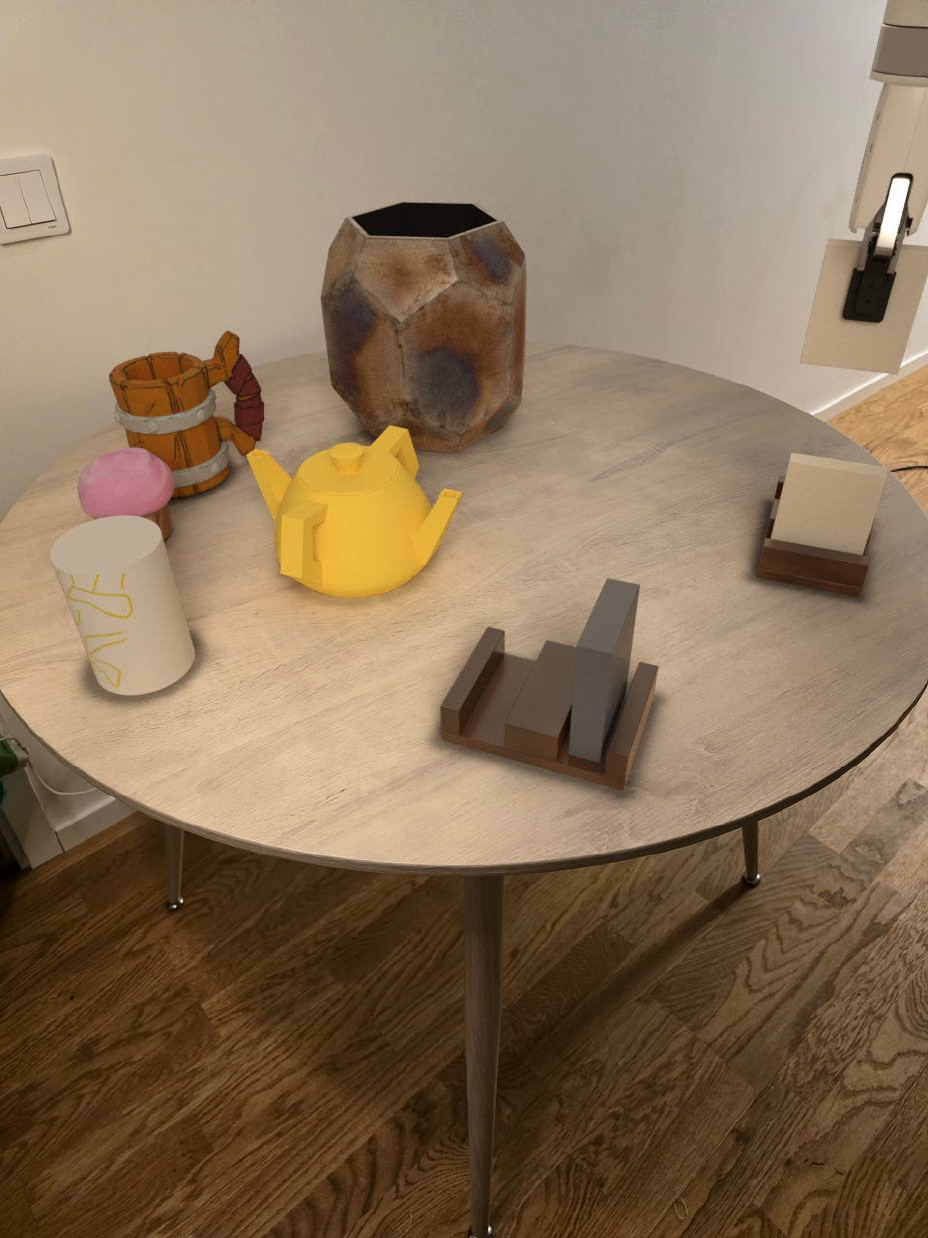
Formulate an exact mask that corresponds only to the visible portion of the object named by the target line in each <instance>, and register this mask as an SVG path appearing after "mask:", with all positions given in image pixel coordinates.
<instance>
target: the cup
mask: <svg viewBox="0 0 928 1238" xmlns="http://www.w3.org/2000/svg"><path fill="white" fill-rule="evenodd" d="M49 560H50V563H51V565H52V568H53V571H54V573H55V576H56V578H57V581H58V583H59V586H60V588H61V591H62V593H63V596H64V599H65V601H66V604H67V606H68V609H69V612H70V614H71V617H72V619H73V622H74V625H75V627H76V629H77V632H78V635H79V638H80V640H81V642H82V646H83V648H84V650H85V653H86V655H87V658H88V661H89V663H90V665H91V668H92V671H93V673H94V676H95V679H96V681H97V683H98V684H99V685H100V687H101V688H103V689H104V690H106V691H107V692H110V693H112V694H115V695H120V696H121V695H122V696H140V695H147V694H151V693H154V692H155V693H156V692H158V691H161V690H163V689H165V688H167V687H170V686H171V685H173V684H174V683H176V682H178V681H179V680H180V679H181V678H183V677H184V676H185V675H186V674H187V673H188V672H189V671H190V669H191V667H192V666H193V664H194V662H195V658H196V650H195V646H194V643H193V638H192V636H191V633H190V629H189V626H188V622H187V618H186V615H185V611H184V607H183V604H182V600H181V597H180V593H179V590H178V587H177V583H176V580H175V576H174V573H173V569H172V565H171V562H170V558H169V555H168V551H167V548H166V544H165V540H163V537H162V533H161V530H160V528H159V527H158V525H157V524H155V523H154V522H153V521H151V520H149V519H146V518H143V517H138V516H128V515H121V516H110V517H104V518H99V519H96V520H95V519H92V520H88V521H87V522H84V523H81V524H79V525H76V526H75V527H72V528H70V529H69V530H67V531H66V532H64V533H63V534H62V535H61V536H60V537H58V538H57V539H56V540H55V542H54V543H53V544H52V546H51V547H50V550H49Z"/></svg>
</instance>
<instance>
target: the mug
mask: <svg viewBox="0 0 928 1238" xmlns="http://www.w3.org/2000/svg"><path fill="white" fill-rule="evenodd" d="M240 339H241V338H240V337H239V335H238V334H236V333H235V332H232V331H230V330H225V331H224V333H223V334H221V336H220V338H218V340H217V343H216V344H215V347H214V351H213V357H212V358H208V359H205V360H202V359H201V358H199V357H198V356H196V355H192V354H189V353H186V352H180V353H178V352H177V351H162V352H161V351H160V352H153V353H149V354H148V355H142V356H138V357H134V358H130V359H128V360H125V361H123V362H121V363H119V364H117V365H116V366H114V367H113V369H112V371H111V372H109V373H108V379H109V380H108V381H109V383H110V386H111V389H112V391H113V395H114V397H115V399H116V401H115V405H114V410H115V412H114V413H113V417H114V420H115V422H116V423H118V424H120V425H121V426H122V427H123V428H124V430H125V435H126V439H127V443H128V448H131V447H133V448H142V449H145V450H147V451H148V452H150V453H151V454H153V455H154V456H156V457H158V458H159V459H160V460H162V461H163V462H165V463H166V464H167V465H168V466H169V468H170V470H171V472H172V474H173V476H174V480H175V488H174V491H173V494H172V496H171V498H170V499H178V498H189V497H194V496H196V495H197V494H203V493H204V492H207V491H209V490H210V489H215V488H217V487H218V486H219V485H221V484H222V483H223V482H224V481H225V480H226V479H227V478H228V477H229V474H230V473H231V466H230V463H229V461H230V453H229V450H230V444H229V442H232V444H233V445H234V447H235V449H236V450H237V452H238V453H239V455H240V456H242V457H243V456H244V457H247V454H248V453H250V452H252V451H253V450H255V449H256V443H257V442H261V439H262V433H263V423H264V422H265V402H264V401H263V399H262V395H261V393H262V388H261V385H260V382H259V381H258V380H257V378H256V375H255V374H254V373H253V368H252V366H251V364H250V363H249V361H248V360H247V358H246V357H245V356H244V354H242V353H240V344H241V342H240V341H241V340H240ZM222 382H223V383H224V385H225V386H226V388H227V389H228V390H229V391H230V392H231V393H232V394H233V395H234V396H235V402H234V403H233V413H234V414H233V421H232V420H231V419H229V418H227V417H226V416H221V415H217V416H214V414H215V412H216V410H217V403H216V400H217V393H216V391H215V390H213V389H212V388H213V387H215V386H217V385H218V384H220V383H222Z"/></svg>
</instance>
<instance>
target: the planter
mask: <svg viewBox="0 0 928 1238" xmlns="http://www.w3.org/2000/svg"><path fill="white" fill-rule="evenodd" d="M526 262H527V260H526V253H525V252H524V250H523V249H522V247H521V246H520V243H518V241H517V239H516V238H515V236H514V235H513V233H512V231H511V230H510V228H509V227H508V225H507V224H506V222H505V221H504V220H503V219H501V218H500V217H498V216H497V215H495V214H494V213H492V212H490V211H488V210H487V209H486V208H484V207H483V206H481V205H479V204H478V203H476V202H447V201H446V202H445V201H404V200H403V201H398V202H394V203H392V204H388V205H384V206H381V207H377V208H374V209H371V210H366V211H364V212H363V211H362V212H360V213H357V214H353V215H350V216H346V217H345V218H344V220H343V222H342V223H341V225H340V227H339V229H338V231H337V232H336V235H335V236H334V238H333V240H332V242H331V244H330V245H329V248H328V250H327V259H326V262H325V269H324V276H323V280H322V286H321V293H320V306H321V313H322V322H323V330H324V331H323V332H324V338H325V346H326V347H325V348H326V354H327V362H328V370H329V377H330V386H331V387H332V389H333V390H334V391H335V392H336V393H337V395H338V396H339V397H340V398H341V400H342V401H343V402H344V404H346V406H347V407H348V408H349V409H350V411H351V412H352V413H353V414H354V415H355V417H357V419H358V420H359V421H360V423H361V424H362V425H363V426H364V427H365V429H366V430H367V431H368V432H369V433H370V434H371V436H373V438H374V439H375V441H376V440H377V438H378V437H379V436H380V435H381V434H382V433H383V432H384V431H385V430H386V429H387V428H388V427H389V425H391V426H396V427H400V428H404V429H408V432H409V435H410V438H411V441H412V444H413V448H414V451H419V452H433V453H434V452H435V453H447V454H449V453H450V454H457V453H459V452H461V451H462V450H464V449H466V448H468V447H469V446H471V445H473V444H475V443H477V442H478V441H480V440H482V439H484V438H485V437H487V436H489V435H491V434H493V433H494V432H496V431H498V430H500V429H501V428H503V427H504V426H505V425H506V423H507V422H508V421H509V419H510V418H511V417H512V416H513V415H514V413H515V412H516V411H517V409H518V408H519V407H520V405H521V404H522V397H523V385H524V375H525V360H526V333H527V330H526V329H527V287H528V286H527V285H528V270H527V263H526Z"/></svg>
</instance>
